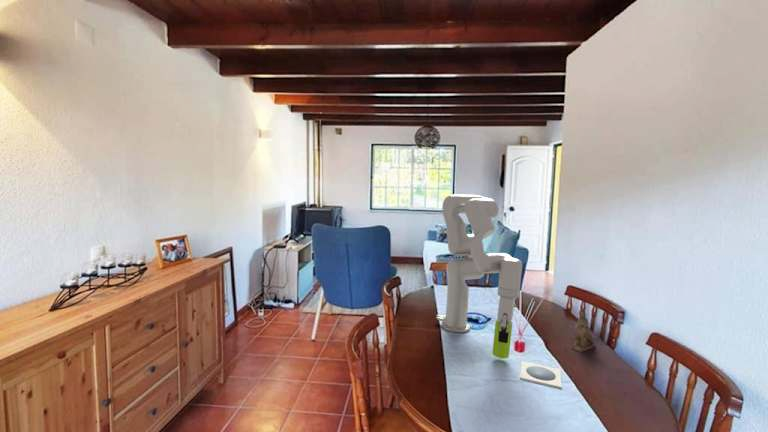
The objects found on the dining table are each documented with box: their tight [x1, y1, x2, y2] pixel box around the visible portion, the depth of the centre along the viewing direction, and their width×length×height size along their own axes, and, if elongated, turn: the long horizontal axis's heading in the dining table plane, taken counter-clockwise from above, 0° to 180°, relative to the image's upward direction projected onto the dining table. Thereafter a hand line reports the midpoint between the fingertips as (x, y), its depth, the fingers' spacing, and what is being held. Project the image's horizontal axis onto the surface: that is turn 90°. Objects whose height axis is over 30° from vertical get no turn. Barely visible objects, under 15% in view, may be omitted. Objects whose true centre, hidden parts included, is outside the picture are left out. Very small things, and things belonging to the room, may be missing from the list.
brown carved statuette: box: [570, 310, 596, 353], centre depth 157 cm, size 12×6×18 cm, turn 121°
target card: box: [519, 360, 563, 390], centre depth 134 cm, size 13×13×1 cm
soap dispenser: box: [492, 303, 518, 359], centre depth 142 cm, size 6×7×20 cm
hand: (503, 338), depth 142 cm, fingers closed on soap dispenser, 5 cm apart
